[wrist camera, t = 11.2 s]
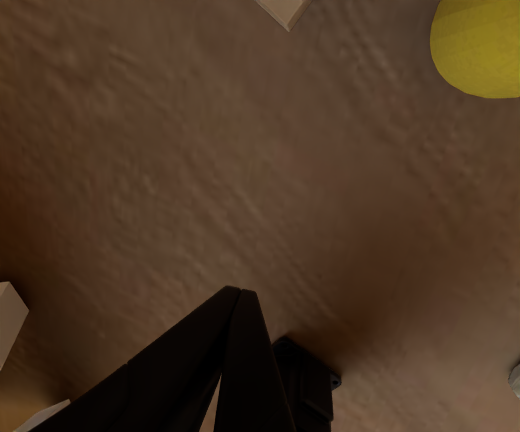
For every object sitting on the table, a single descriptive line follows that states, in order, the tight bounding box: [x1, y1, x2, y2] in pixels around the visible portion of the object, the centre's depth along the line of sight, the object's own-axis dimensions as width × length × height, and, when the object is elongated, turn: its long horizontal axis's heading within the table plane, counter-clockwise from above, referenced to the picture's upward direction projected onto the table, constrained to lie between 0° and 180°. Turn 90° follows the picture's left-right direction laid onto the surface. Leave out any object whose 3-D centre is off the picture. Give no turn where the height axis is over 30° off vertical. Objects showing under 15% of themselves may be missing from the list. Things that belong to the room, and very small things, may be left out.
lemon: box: [430, 0, 520, 98], centre depth 11 cm, size 6×6×8 cm
